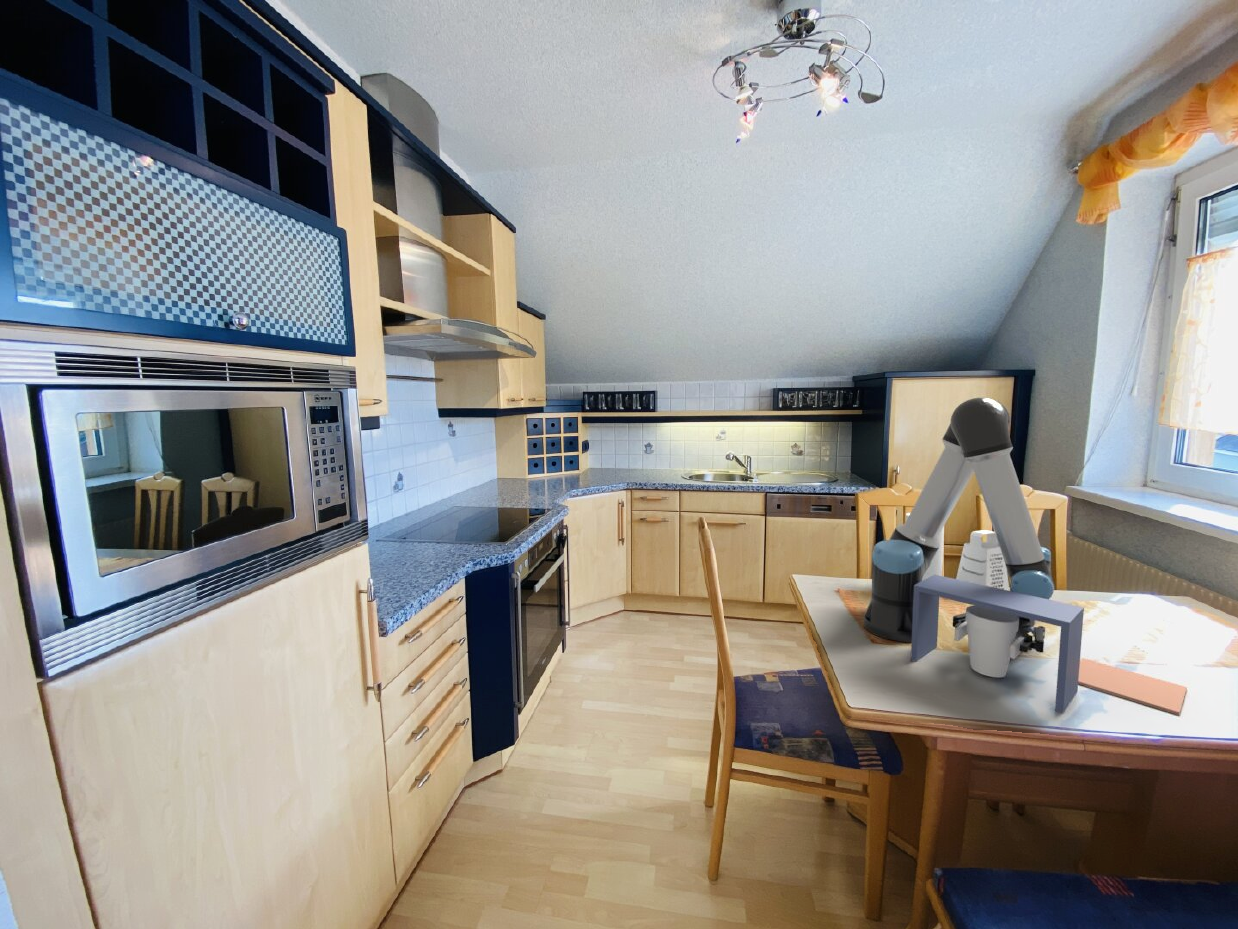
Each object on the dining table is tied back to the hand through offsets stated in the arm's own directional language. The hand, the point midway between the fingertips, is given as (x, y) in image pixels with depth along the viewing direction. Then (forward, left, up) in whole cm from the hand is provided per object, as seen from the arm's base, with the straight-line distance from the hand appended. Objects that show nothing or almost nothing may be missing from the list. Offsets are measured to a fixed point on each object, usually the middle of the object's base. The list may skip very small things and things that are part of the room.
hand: (983, 643), depth 107 cm
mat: (+20, +21, -9) cm, 30 cm away
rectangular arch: (0, +4, -9) cm, 10 cm away
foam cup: (0, +4, -8) cm, 9 cm away
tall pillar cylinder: (-31, +50, -9) cm, 60 cm away
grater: (-18, +62, -9) cm, 66 cm away
